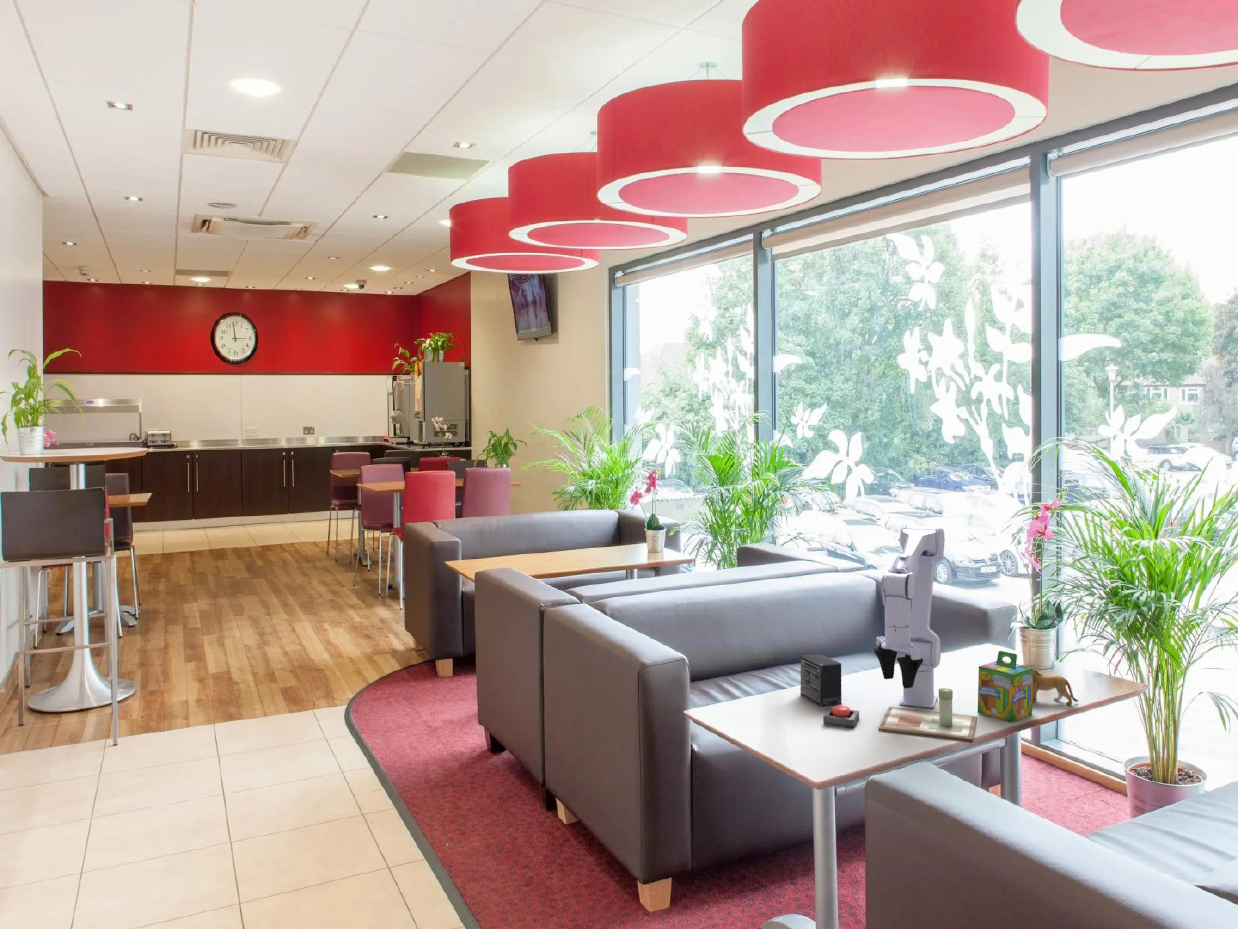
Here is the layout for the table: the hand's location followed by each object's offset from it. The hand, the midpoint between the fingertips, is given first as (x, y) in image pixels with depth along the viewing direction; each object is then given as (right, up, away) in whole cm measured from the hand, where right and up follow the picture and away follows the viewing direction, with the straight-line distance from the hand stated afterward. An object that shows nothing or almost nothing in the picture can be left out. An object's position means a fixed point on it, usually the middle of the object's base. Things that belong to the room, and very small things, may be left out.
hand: (898, 683), depth 210 cm
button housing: (-12, -10, +4) cm, 16 cm away
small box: (-13, -10, +21) cm, 26 cm away
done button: (-12, -9, +4) cm, 15 cm away
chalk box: (+28, -9, +7) cm, 30 cm away
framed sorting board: (+7, -10, +1) cm, 12 cm away
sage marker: (+10, -9, -2) cm, 14 cm away
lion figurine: (+41, -9, +15) cm, 44 cm away
